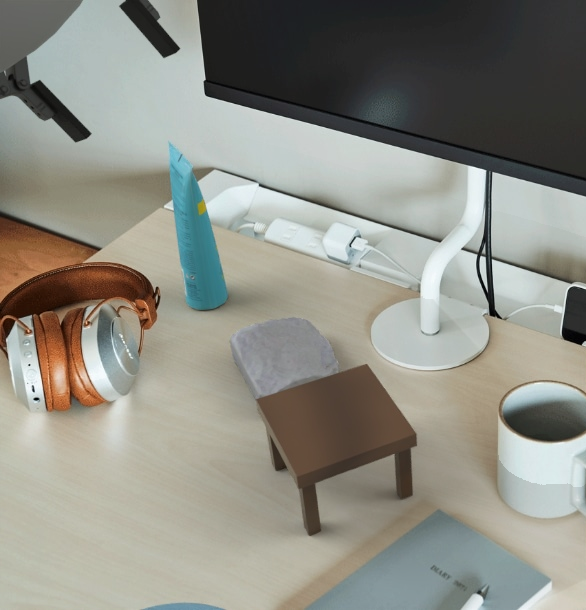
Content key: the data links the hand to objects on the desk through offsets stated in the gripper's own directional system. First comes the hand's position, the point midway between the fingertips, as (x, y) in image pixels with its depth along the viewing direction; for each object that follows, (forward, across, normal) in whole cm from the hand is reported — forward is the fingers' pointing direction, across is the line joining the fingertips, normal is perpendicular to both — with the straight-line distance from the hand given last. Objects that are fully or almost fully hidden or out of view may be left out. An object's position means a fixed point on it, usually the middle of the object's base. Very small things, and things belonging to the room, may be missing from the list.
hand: (129, 94), depth 93 cm
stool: (+34, +20, +19) cm, 44 cm away
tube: (+24, +5, -11) cm, 27 cm away
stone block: (+31, +11, +6) cm, 33 cm away
